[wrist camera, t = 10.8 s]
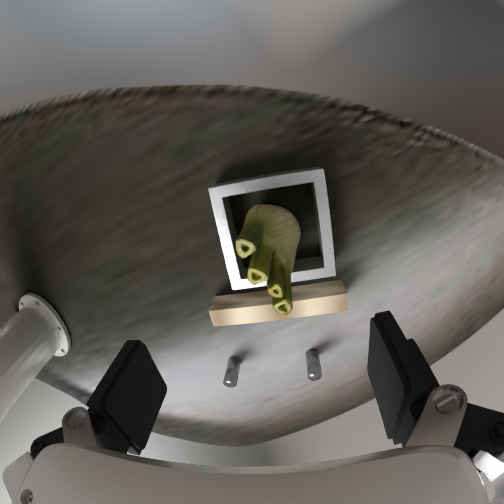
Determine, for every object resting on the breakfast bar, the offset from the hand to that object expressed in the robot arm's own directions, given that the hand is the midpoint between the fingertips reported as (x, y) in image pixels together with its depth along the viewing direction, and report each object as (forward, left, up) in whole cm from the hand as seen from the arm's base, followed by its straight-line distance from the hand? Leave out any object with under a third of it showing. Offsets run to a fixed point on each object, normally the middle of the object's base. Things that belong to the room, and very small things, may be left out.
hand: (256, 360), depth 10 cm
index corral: (0, 0, -18) cm, 18 cm away
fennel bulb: (0, 0, -19) cm, 19 cm away
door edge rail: (-1, -8, -18) cm, 20 cm away
